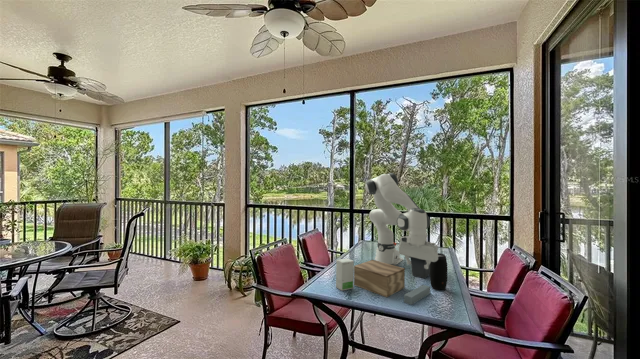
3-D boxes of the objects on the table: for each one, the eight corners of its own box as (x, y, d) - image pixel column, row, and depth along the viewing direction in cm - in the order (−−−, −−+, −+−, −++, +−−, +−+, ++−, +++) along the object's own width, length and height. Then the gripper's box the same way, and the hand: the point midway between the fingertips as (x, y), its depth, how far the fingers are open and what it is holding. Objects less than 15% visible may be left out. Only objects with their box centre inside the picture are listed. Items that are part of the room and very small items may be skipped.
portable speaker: (448, 292, 147) (448, 257, 147) (430, 290, 150) (430, 255, 150) (445, 286, 155) (446, 253, 155) (428, 284, 158) (429, 252, 158)
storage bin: (427, 281, 163) (427, 257, 163) (403, 274, 174) (403, 252, 173) (438, 272, 179) (439, 250, 179) (415, 267, 190) (416, 246, 190)
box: (372, 277, 168) (372, 261, 168) (404, 288, 152) (404, 270, 152) (353, 284, 156) (354, 267, 156) (386, 297, 140) (386, 278, 140)
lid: (372, 261, 168) (372, 259, 168) (404, 270, 152) (404, 268, 152) (354, 267, 156) (354, 265, 156) (386, 277, 140) (386, 276, 140)
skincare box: (341, 291, 147) (341, 262, 147) (335, 286, 153) (335, 259, 153) (354, 288, 151) (354, 260, 151) (347, 284, 157) (347, 257, 157)
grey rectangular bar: (423, 291, 148) (423, 284, 148) (430, 294, 145) (430, 286, 145) (404, 302, 135) (404, 294, 135) (411, 305, 132) (411, 297, 132)
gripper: (440, 242, 135) (440, 270, 134) (403, 236, 150) (403, 261, 150) (434, 244, 130) (434, 273, 130) (397, 237, 145) (397, 263, 145)
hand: (417, 266), depth 140 cm, fingers open, 8 cm apart
